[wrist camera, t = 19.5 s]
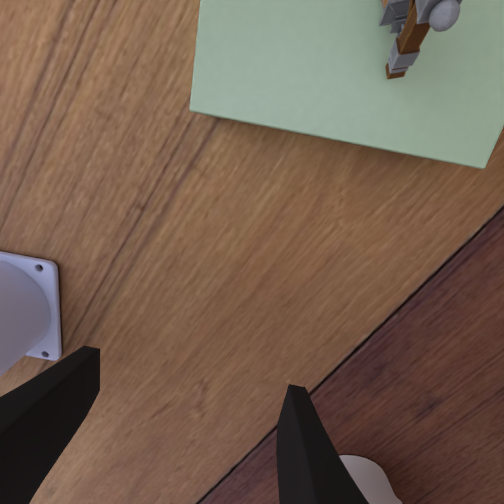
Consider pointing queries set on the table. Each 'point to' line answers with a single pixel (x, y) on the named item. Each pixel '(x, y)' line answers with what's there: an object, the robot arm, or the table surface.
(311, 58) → the block
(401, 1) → the wooden post with brackets
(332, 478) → the robot arm
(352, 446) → the table surface
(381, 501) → the cup
